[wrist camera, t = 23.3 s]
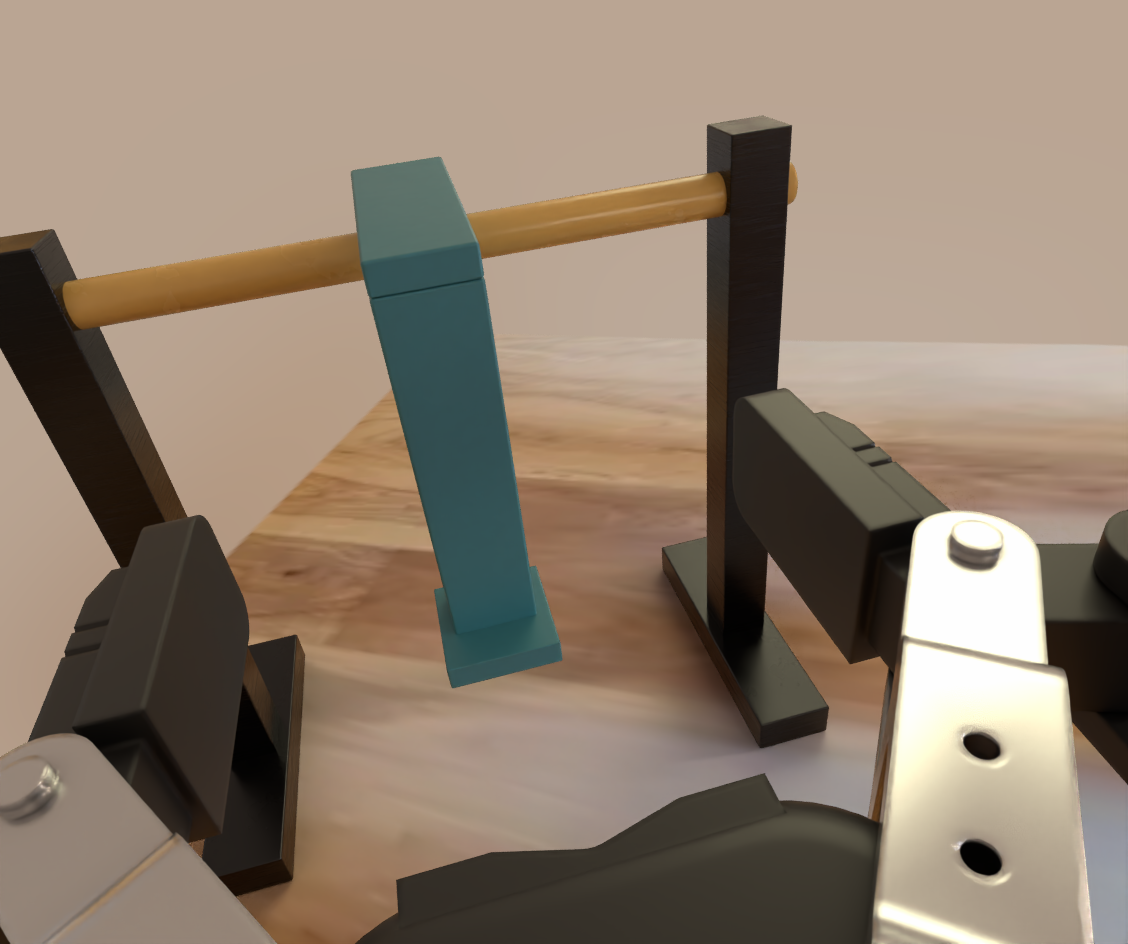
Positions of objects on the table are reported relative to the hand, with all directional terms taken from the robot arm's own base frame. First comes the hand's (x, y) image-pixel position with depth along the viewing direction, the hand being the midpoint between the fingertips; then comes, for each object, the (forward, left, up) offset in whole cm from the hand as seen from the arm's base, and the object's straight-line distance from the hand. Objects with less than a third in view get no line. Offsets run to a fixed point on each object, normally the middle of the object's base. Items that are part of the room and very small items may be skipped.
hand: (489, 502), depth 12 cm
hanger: (-7, -12, -14) cm, 20 cm away
